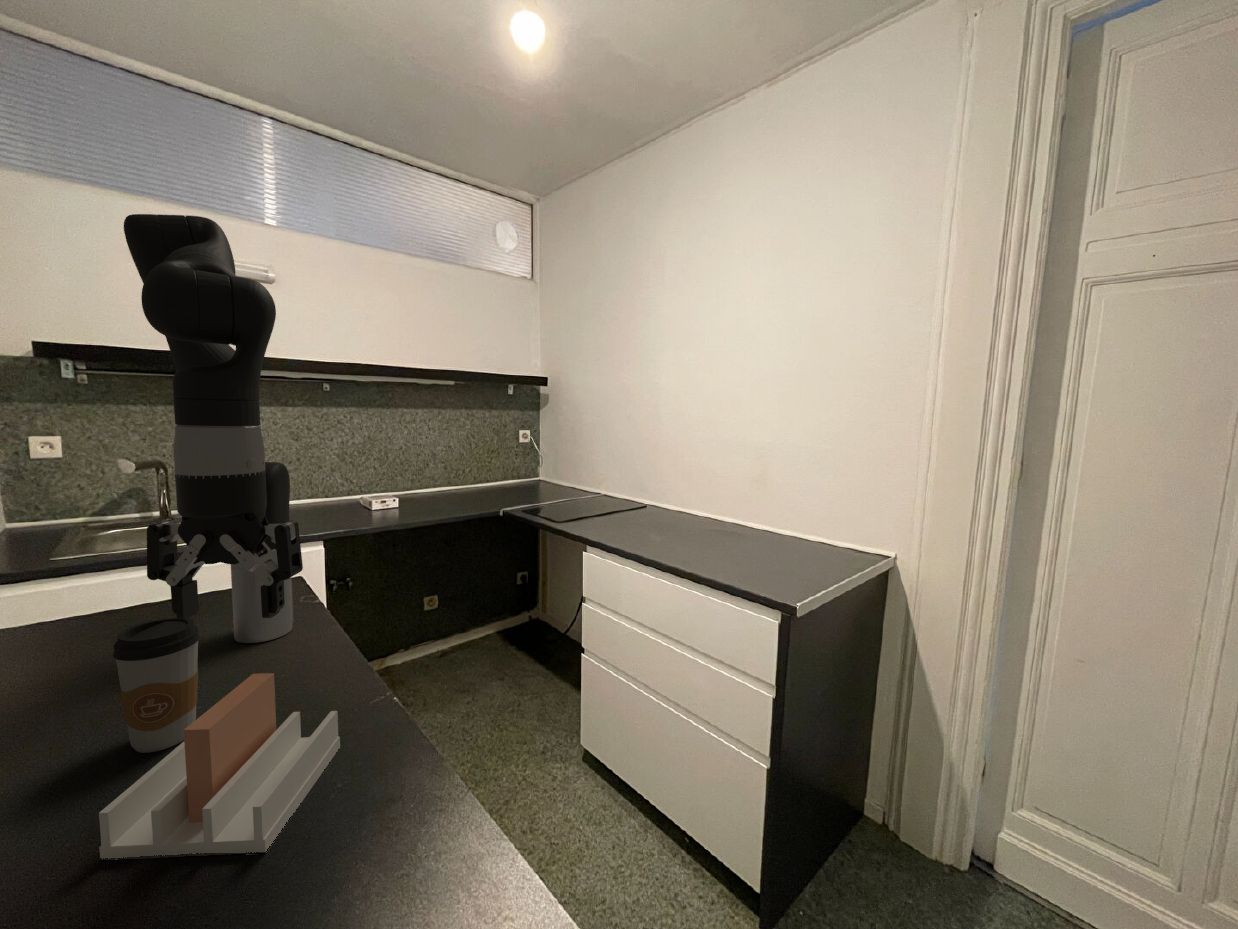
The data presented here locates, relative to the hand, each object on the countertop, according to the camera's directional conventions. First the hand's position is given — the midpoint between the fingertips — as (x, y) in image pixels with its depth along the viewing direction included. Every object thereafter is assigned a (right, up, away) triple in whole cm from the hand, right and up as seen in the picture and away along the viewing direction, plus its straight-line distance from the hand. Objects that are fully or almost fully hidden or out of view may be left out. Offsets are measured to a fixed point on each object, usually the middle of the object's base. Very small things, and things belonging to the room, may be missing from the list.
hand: (229, 616), depth 55 cm
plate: (-1, -19, +2) cm, 20 cm away
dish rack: (-1, -21, +2) cm, 21 cm away
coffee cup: (-18, -20, +12) cm, 29 cm away
